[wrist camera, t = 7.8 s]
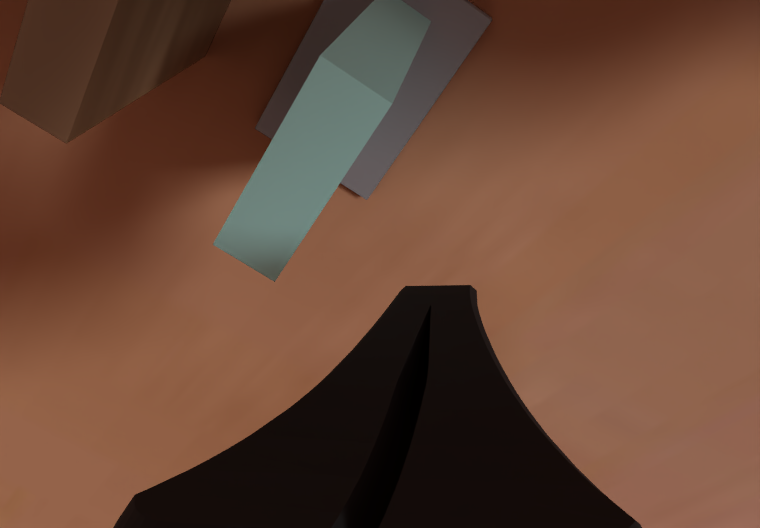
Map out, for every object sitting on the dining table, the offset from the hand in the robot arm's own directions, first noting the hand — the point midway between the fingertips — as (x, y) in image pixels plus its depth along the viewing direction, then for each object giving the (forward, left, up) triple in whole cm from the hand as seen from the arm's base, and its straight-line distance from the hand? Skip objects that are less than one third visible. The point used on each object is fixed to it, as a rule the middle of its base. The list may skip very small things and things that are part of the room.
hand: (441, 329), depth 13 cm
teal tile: (+4, 0, -10) cm, 11 cm away
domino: (+9, 0, -10) cm, 14 cm away
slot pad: (+4, 0, -10) cm, 11 cm away
